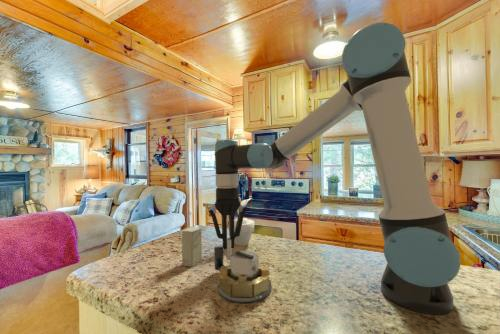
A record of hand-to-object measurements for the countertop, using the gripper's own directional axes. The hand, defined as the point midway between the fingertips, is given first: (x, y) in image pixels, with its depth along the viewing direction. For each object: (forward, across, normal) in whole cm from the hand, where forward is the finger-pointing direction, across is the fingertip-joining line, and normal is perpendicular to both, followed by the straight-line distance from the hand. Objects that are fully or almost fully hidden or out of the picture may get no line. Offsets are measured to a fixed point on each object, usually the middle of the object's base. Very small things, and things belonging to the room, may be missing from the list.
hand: (228, 258), depth 75 cm
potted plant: (+4, -11, -25) cm, 28 cm away
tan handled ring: (+3, 0, +9) cm, 9 cm away
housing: (+4, -2, +12) cm, 13 cm away
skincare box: (+4, +11, -10) cm, 16 cm away
